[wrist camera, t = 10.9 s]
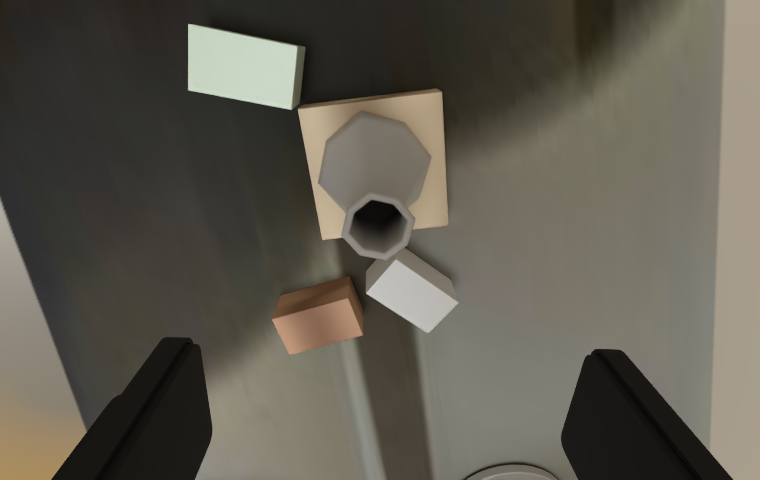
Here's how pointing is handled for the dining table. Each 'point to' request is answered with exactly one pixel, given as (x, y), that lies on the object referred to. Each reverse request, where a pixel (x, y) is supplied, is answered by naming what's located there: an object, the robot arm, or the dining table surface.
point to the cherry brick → (319, 315)
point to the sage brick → (244, 67)
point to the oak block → (408, 107)
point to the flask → (375, 182)
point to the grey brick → (411, 289)
